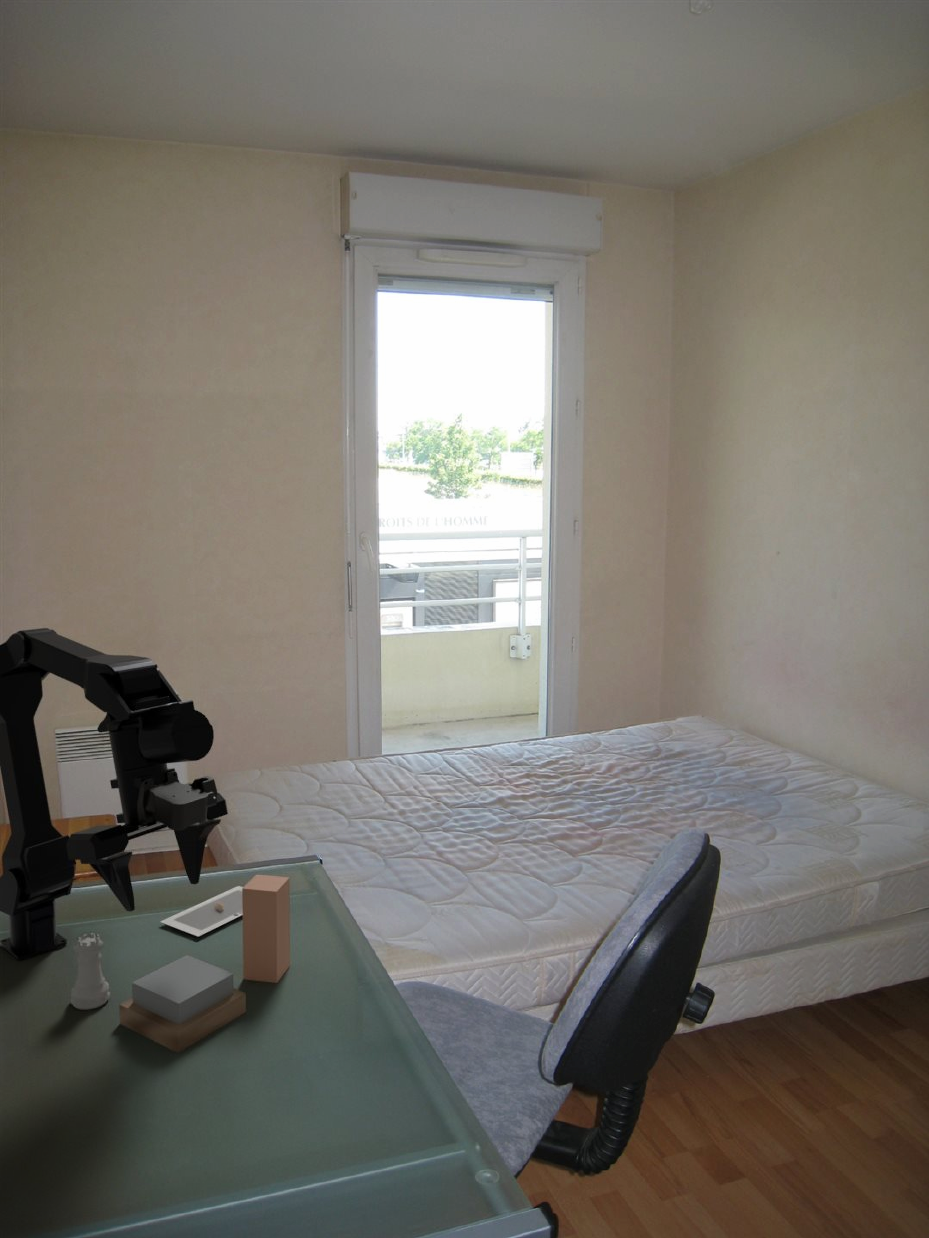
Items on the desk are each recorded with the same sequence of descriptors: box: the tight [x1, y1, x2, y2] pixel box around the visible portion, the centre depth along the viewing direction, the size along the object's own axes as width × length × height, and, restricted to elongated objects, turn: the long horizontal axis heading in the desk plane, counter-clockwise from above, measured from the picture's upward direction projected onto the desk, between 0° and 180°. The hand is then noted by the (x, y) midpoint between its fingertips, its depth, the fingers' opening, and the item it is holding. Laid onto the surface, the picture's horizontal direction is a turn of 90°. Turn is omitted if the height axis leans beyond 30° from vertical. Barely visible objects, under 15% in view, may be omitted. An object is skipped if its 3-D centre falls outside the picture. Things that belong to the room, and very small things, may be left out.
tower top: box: [131, 954, 235, 1025], centre depth 108 cm, size 8×8×2 cm
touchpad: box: [160, 885, 244, 938], centre depth 136 cm, size 8×15×2 cm, turn 148°
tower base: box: [118, 987, 247, 1054], centre depth 108 cm, size 10×10×3 cm
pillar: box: [242, 874, 291, 984], centre depth 118 cm, size 4×4×12 cm
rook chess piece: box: [70, 933, 111, 1011], centre depth 111 cm, size 4×4×8 cm
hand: (163, 896), depth 109 cm, fingers open, 9 cm apart
